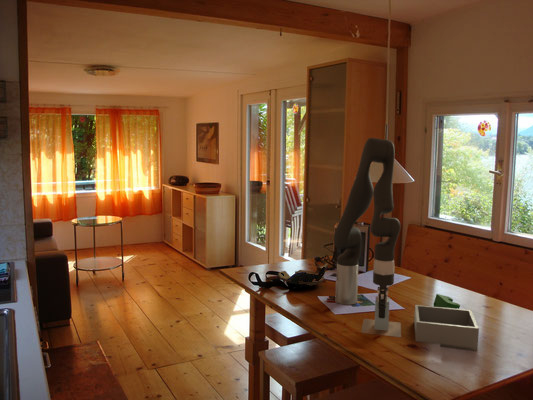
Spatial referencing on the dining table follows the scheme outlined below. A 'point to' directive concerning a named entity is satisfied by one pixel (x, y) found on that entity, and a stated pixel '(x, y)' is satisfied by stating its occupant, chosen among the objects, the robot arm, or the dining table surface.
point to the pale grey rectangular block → (381, 322)
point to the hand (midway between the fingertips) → (381, 314)
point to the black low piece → (286, 275)
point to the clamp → (445, 302)
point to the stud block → (393, 330)
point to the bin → (446, 327)
